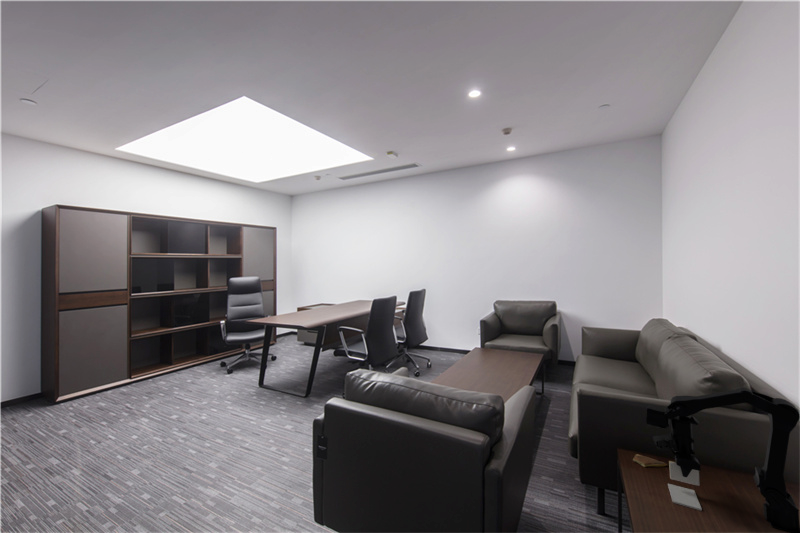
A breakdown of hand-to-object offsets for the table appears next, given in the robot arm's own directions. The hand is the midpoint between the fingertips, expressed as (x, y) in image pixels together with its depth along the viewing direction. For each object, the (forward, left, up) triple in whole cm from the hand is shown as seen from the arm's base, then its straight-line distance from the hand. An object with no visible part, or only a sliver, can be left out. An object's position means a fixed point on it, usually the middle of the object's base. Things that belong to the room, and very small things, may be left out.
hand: (684, 475), depth 117 cm
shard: (+10, -18, -7) cm, 21 cm away
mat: (+1, +3, -6) cm, 7 cm away
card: (0, 0, -2) cm, 2 cm away
